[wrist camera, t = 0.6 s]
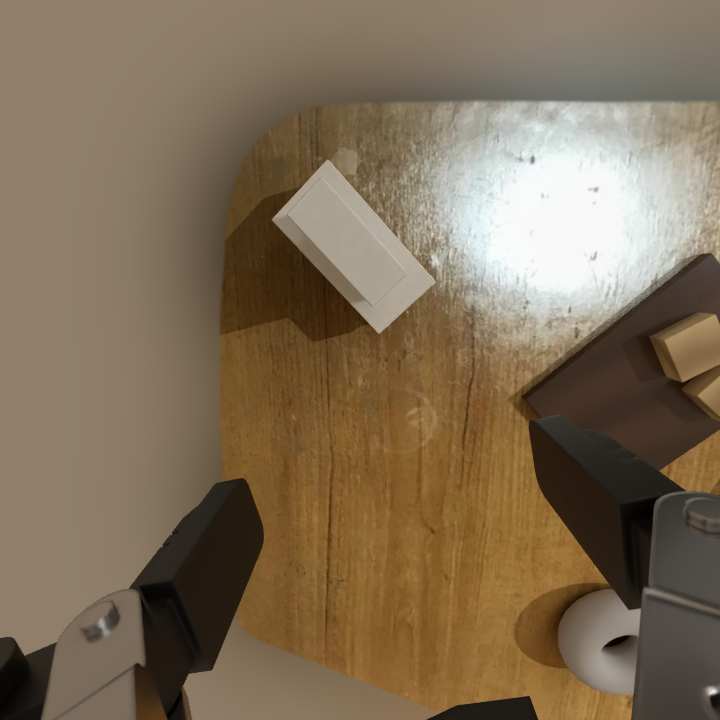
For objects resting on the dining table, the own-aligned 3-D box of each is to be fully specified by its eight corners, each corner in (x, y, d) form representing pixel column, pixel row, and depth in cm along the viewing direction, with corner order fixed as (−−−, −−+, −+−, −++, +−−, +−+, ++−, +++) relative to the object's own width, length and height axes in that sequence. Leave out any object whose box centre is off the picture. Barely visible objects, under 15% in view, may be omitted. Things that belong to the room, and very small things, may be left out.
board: (521, 396, 29) (525, 399, 28) (702, 253, 26) (712, 252, 25) (609, 495, 31) (615, 500, 30) (788, 371, 28) (800, 374, 27)
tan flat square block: (648, 336, 27) (664, 340, 25) (697, 311, 26) (716, 314, 25) (666, 377, 27) (682, 382, 26) (713, 353, 27) (733, 358, 25)
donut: (544, 587, 33) (556, 672, 35) (562, 621, 30) (575, 713, 32) (657, 570, 33) (663, 658, 35) (690, 603, 29) (694, 699, 31)
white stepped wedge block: (378, 325, 28) (380, 353, 19) (286, 227, 27) (235, 201, 17) (427, 280, 27) (456, 285, 18) (334, 175, 26) (310, 118, 16)
